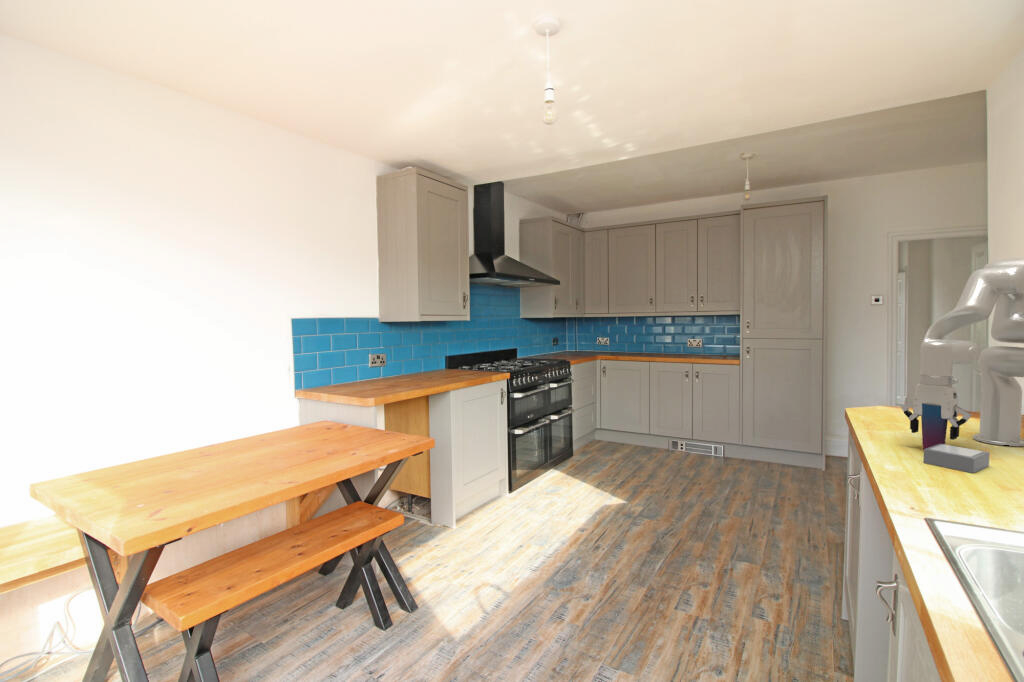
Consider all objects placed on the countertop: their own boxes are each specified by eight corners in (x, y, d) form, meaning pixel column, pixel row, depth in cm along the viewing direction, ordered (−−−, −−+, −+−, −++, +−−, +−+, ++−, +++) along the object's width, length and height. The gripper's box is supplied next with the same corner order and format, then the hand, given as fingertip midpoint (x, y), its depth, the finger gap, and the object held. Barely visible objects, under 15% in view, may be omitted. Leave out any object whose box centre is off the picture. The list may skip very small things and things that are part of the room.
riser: (939, 456, 147) (940, 443, 147) (988, 466, 137) (989, 451, 137) (923, 462, 141) (923, 448, 141) (973, 473, 132) (974, 458, 132)
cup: (953, 454, 149) (955, 405, 148) (927, 453, 150) (929, 405, 149) (938, 448, 155) (940, 401, 154) (914, 447, 157) (915, 401, 156)
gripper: (977, 383, 146) (974, 439, 147) (907, 377, 161) (906, 428, 162) (967, 385, 142) (964, 443, 143) (896, 379, 157) (895, 431, 158)
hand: (933, 435), depth 152 cm, fingers open, 9 cm apart
